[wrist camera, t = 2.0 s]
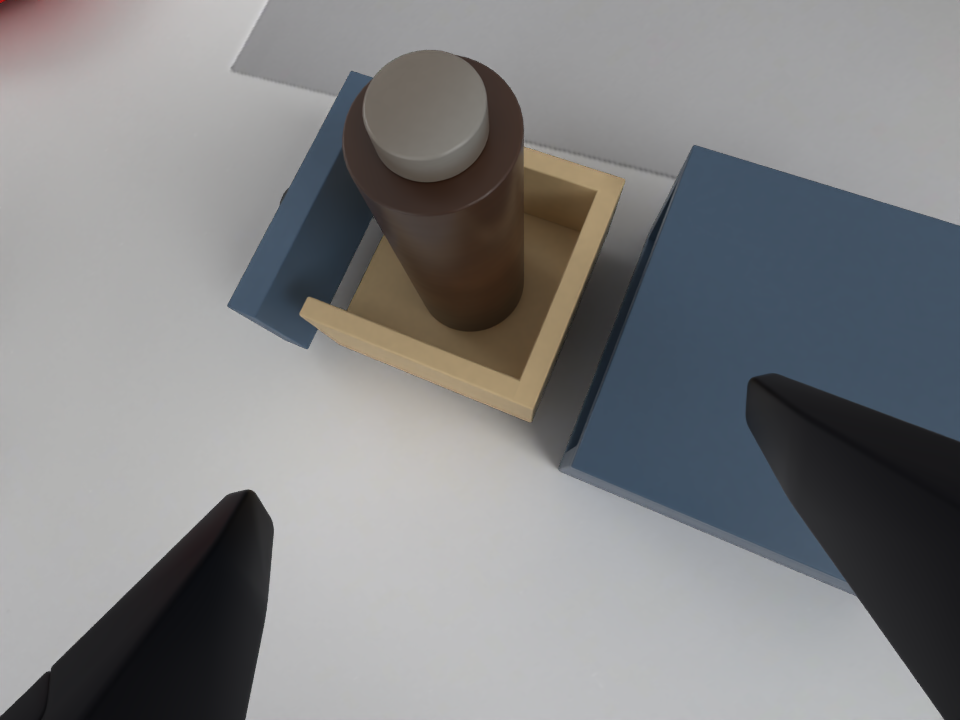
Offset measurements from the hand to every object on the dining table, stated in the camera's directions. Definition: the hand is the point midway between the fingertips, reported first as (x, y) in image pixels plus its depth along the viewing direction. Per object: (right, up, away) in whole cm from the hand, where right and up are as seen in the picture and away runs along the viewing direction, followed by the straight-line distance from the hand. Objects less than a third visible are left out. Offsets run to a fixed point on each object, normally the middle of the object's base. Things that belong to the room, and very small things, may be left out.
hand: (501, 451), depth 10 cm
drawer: (-2, +5, +14) cm, 15 cm away
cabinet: (+11, 0, +13) cm, 17 cm away
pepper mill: (-1, +5, +13) cm, 14 cm away
